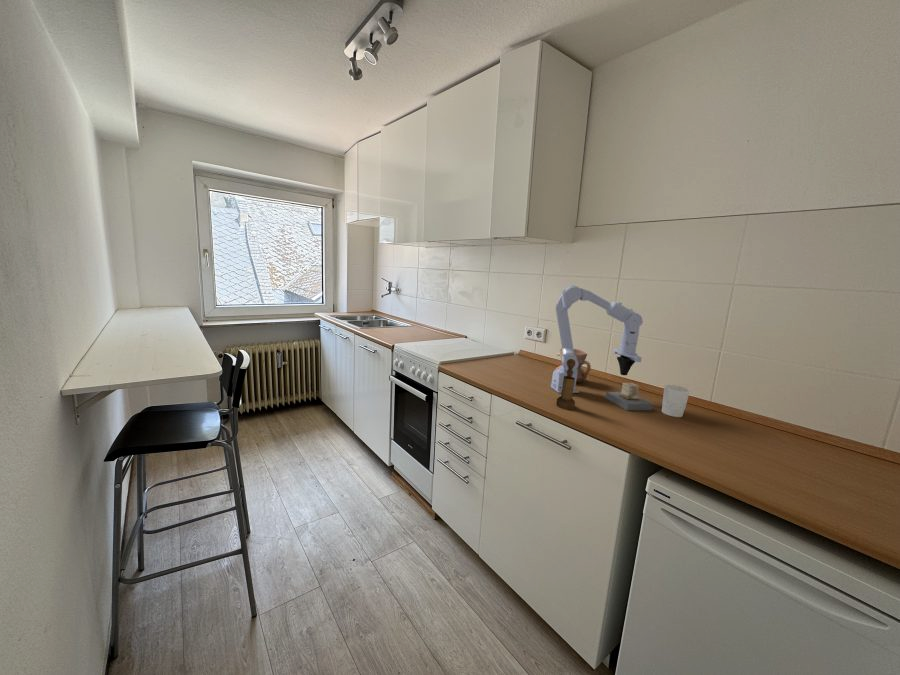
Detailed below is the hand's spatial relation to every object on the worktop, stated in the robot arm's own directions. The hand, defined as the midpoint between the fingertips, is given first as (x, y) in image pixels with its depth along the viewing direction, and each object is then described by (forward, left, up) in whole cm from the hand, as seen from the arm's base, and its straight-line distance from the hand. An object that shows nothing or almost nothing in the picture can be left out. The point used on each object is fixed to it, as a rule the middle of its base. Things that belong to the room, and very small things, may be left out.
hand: (623, 374), depth 146 cm
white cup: (+10, -17, -10) cm, 22 cm away
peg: (-1, -7, -10) cm, 12 cm away
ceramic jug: (-9, +23, -10) cm, 27 cm away
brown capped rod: (-29, -9, -10) cm, 32 cm away
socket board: (-1, -7, -10) cm, 12 cm away
